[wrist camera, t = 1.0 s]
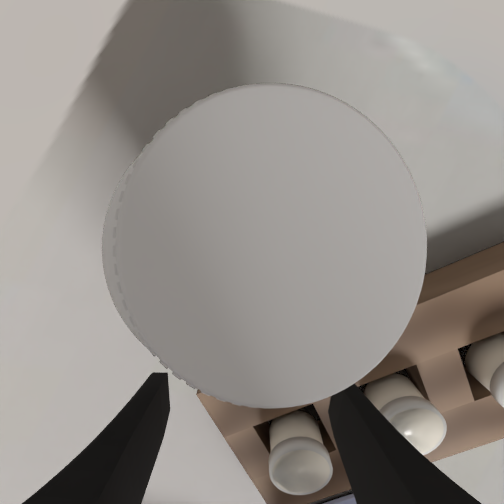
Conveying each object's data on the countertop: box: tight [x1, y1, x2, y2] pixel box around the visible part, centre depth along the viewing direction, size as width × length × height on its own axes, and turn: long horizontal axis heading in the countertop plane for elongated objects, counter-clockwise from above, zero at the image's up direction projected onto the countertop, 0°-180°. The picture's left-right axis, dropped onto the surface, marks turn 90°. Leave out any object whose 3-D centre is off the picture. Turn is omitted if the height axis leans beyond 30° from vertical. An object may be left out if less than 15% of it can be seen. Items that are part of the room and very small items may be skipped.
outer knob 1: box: [269, 410, 333, 495], centre depth 20 cm, size 4×4×3 cm
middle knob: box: [363, 373, 447, 455], centre depth 19 cm, size 4×4×3 cm
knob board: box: [196, 242, 504, 504], centre depth 22 cm, size 14×26×3 cm, turn 116°
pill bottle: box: [102, 83, 427, 408], centre depth 11 cm, size 8×8×15 cm
